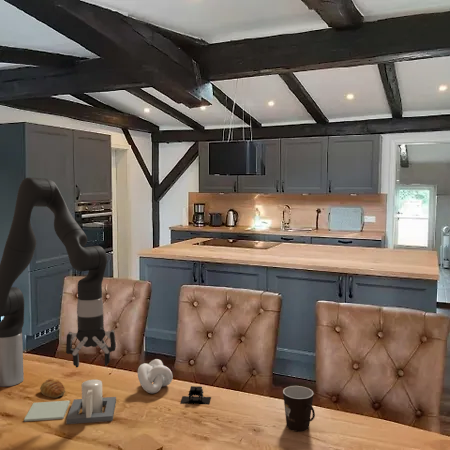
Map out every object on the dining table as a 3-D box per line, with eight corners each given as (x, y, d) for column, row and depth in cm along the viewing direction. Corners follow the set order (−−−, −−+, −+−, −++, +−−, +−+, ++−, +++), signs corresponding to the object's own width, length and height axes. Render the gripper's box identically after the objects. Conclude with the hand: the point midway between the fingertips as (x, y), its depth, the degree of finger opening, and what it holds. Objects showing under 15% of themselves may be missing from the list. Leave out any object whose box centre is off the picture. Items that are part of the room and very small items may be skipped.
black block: (175, 406, 148) (174, 392, 147) (178, 396, 155) (178, 382, 155) (214, 407, 147) (214, 393, 147) (216, 397, 154) (216, 383, 154)
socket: (66, 424, 135) (66, 419, 135) (74, 404, 148) (73, 399, 148) (112, 420, 137) (112, 415, 137) (116, 401, 150) (115, 396, 150)
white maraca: (83, 408, 145) (83, 380, 145) (103, 407, 146) (103, 379, 145) (77, 426, 134) (77, 396, 133) (99, 425, 135) (98, 394, 134)
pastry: (70, 394, 155) (70, 383, 155) (51, 401, 150) (50, 390, 150) (56, 386, 162) (56, 375, 161) (37, 393, 157) (37, 381, 157)
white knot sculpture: (155, 399, 151) (154, 372, 151) (127, 391, 157) (127, 365, 157) (176, 387, 161) (176, 361, 160) (149, 380, 167) (149, 355, 166)
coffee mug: (281, 418, 139) (281, 385, 138) (310, 419, 138) (311, 386, 138) (285, 439, 127) (285, 403, 126) (317, 439, 127) (317, 404, 126)
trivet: (24, 421, 137) (24, 419, 137) (33, 404, 148) (33, 402, 148) (63, 418, 138) (63, 416, 138) (69, 402, 149) (69, 400, 149)
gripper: (115, 308, 145) (116, 359, 146) (68, 310, 143) (69, 362, 144) (113, 315, 138) (114, 368, 139) (63, 317, 136) (65, 371, 137)
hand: (91, 365), depth 142 cm, fingers open, 8 cm apart
